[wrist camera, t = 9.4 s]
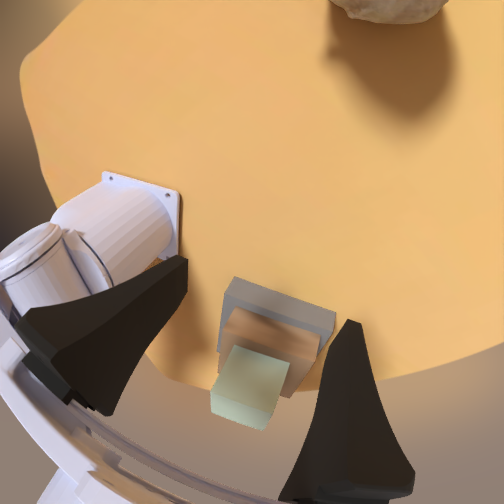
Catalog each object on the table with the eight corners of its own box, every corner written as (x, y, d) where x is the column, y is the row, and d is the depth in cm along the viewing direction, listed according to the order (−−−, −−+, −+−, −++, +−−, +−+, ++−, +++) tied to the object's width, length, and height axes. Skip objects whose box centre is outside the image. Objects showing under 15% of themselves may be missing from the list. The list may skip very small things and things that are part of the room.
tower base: (226, 332, 32) (216, 351, 30) (236, 272, 26) (224, 293, 24) (304, 361, 31) (298, 381, 28) (336, 307, 25) (332, 331, 22)
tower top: (228, 351, 29) (217, 372, 27) (235, 305, 24) (222, 329, 22) (296, 375, 28) (289, 398, 26) (320, 334, 23) (314, 362, 21)
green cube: (231, 371, 26) (211, 412, 22) (234, 344, 23) (210, 391, 19) (279, 387, 25) (263, 430, 21) (290, 363, 22) (272, 413, 18)
